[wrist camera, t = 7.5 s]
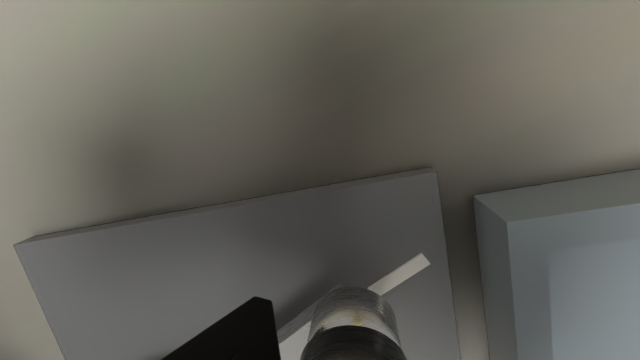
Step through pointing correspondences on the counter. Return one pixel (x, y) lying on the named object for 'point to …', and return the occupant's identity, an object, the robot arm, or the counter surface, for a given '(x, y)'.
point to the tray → (562, 269)
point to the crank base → (248, 267)
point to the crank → (343, 329)
